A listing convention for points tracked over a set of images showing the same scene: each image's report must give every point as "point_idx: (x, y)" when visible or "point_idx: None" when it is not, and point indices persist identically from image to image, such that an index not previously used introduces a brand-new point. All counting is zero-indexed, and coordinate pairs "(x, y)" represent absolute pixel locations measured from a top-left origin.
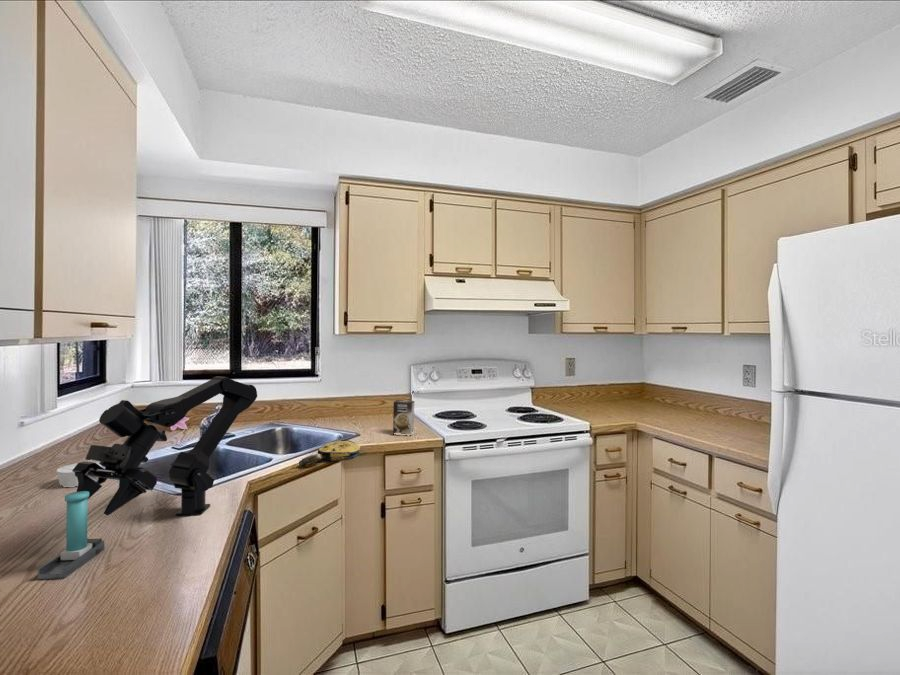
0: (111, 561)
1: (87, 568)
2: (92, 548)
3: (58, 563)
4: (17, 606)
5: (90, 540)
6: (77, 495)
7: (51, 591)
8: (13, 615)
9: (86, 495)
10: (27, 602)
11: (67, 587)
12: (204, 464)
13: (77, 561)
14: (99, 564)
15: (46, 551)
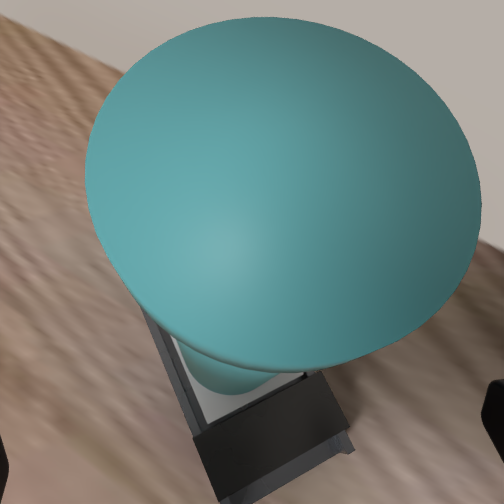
0: (45, 422)
1: (101, 324)
2: (183, 407)
3: None
4: (82, 75)
5: (256, 444)
6: (211, 118)
7: (63, 158)
8: (39, 45)
9: (90, 212)
10: (74, 95)
11: (28, 192)
12: None
13: None
14: (80, 374)
15: (474, 367)
